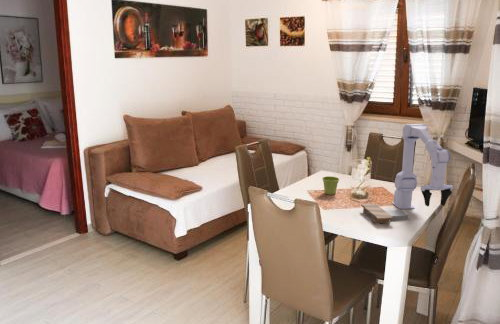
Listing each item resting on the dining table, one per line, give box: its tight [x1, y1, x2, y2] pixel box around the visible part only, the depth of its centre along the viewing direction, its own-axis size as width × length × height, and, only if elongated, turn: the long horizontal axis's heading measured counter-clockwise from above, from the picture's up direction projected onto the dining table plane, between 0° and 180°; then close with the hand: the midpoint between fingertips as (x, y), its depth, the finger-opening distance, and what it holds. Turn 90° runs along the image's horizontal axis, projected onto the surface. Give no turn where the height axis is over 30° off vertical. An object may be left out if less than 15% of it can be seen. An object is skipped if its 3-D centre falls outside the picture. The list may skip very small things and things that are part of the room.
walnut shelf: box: [360, 203, 393, 224], centre depth 218 cm, size 20×8×4 cm, turn 9°
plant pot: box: [322, 176, 340, 196], centre depth 254 cm, size 9×9×9 cm
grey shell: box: [383, 209, 410, 221], centre depth 220 cm, size 8×10×2 cm
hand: (434, 205), depth 206 cm, fingers open, 7 cm apart
